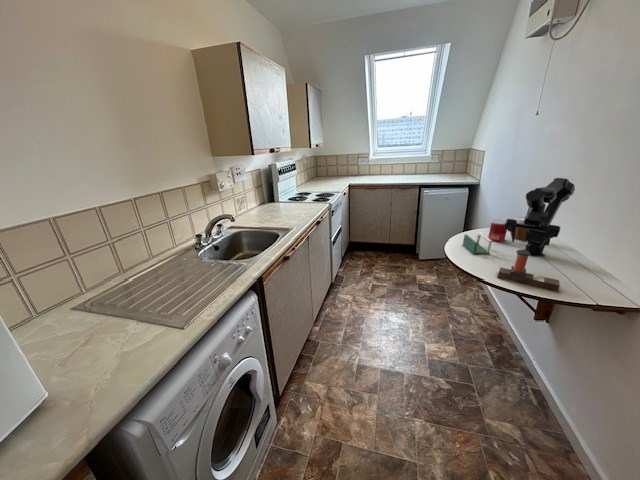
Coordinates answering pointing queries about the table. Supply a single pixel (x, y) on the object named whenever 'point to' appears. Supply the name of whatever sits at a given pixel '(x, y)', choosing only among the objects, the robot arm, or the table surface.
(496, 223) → the canned food
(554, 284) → the rail
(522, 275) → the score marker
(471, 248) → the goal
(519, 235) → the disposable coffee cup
